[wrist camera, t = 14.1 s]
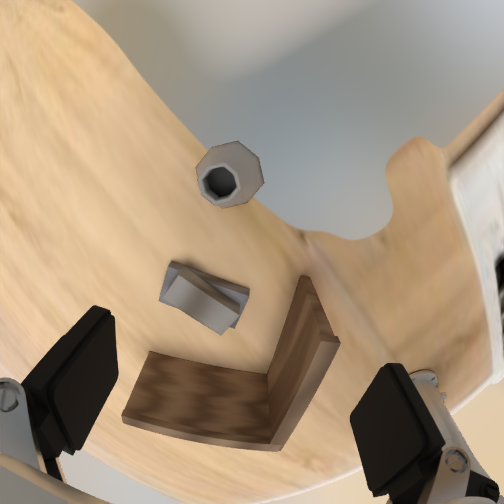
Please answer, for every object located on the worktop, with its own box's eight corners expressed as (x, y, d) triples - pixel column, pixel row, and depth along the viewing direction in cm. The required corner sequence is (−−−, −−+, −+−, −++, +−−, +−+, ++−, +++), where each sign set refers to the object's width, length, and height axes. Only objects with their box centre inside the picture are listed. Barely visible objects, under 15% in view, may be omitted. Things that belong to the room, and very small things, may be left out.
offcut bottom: (249, 287, 35) (249, 296, 33) (235, 318, 36) (234, 328, 34) (173, 258, 34) (168, 266, 31) (163, 292, 35) (158, 301, 33)
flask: (184, 165, 29) (154, 171, 20) (240, 129, 28) (235, 117, 19) (219, 219, 31) (205, 247, 22) (275, 185, 30) (286, 199, 21)
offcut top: (240, 304, 33) (239, 315, 31) (222, 324, 34) (221, 335, 32) (183, 266, 31) (178, 274, 29) (168, 288, 32) (162, 297, 30)
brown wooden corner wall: (311, 277, 34) (340, 343, 21) (274, 382, 40) (279, 451, 27) (155, 245, 32) (107, 297, 20) (149, 358, 38) (122, 422, 26)
